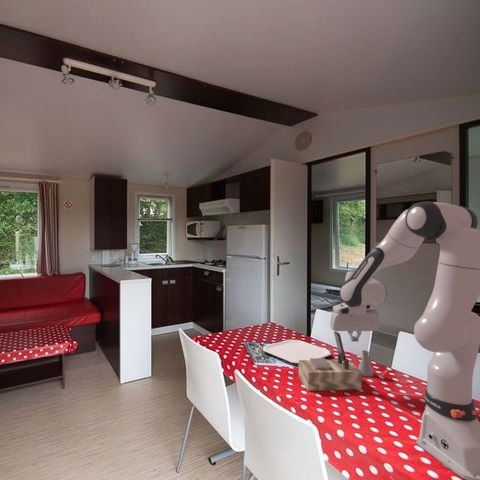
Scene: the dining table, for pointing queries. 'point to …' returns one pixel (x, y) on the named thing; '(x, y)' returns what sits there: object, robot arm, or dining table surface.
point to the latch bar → (339, 346)
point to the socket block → (330, 376)
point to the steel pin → (319, 363)
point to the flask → (365, 364)
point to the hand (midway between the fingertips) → (354, 341)
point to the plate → (295, 351)
